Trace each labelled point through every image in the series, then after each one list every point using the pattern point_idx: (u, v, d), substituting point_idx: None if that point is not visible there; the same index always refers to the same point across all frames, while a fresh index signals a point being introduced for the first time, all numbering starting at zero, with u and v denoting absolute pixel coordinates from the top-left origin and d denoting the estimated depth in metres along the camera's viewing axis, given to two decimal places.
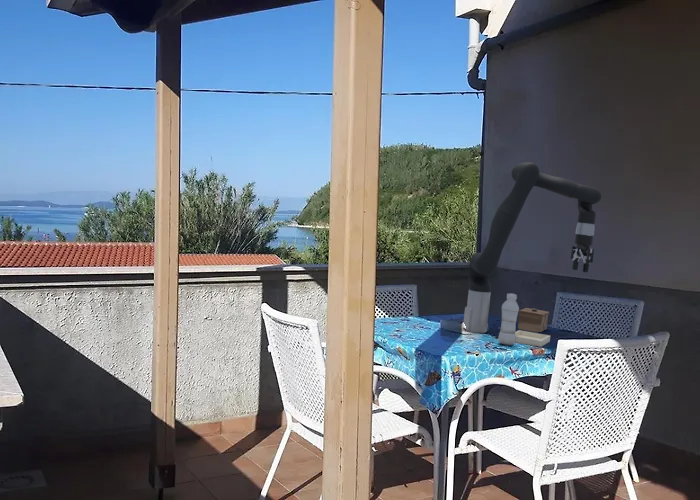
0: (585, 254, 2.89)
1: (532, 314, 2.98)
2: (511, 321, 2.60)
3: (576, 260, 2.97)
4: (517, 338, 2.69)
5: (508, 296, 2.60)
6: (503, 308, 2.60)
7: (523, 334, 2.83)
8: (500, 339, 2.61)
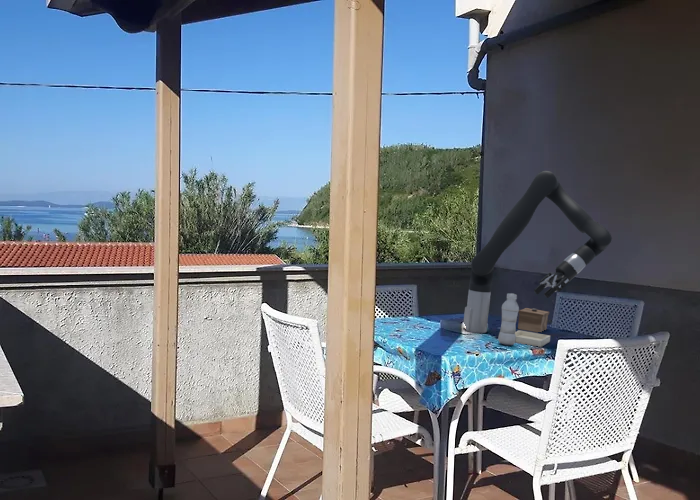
0: (557, 282, 2.61)
1: (532, 314, 2.98)
2: (511, 321, 2.60)
3: (543, 286, 2.68)
4: (517, 338, 2.69)
5: (508, 296, 2.60)
6: (503, 308, 2.60)
7: (523, 334, 2.83)
8: (500, 339, 2.61)
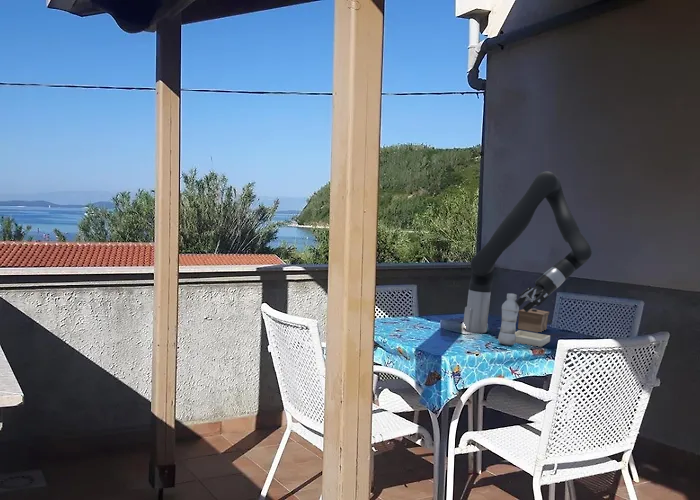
0: (537, 296, 2.60)
1: (532, 314, 2.98)
2: (511, 321, 2.60)
3: (523, 299, 2.67)
4: (517, 338, 2.69)
5: (508, 296, 2.60)
6: (503, 308, 2.60)
7: (523, 334, 2.83)
8: (500, 339, 2.61)
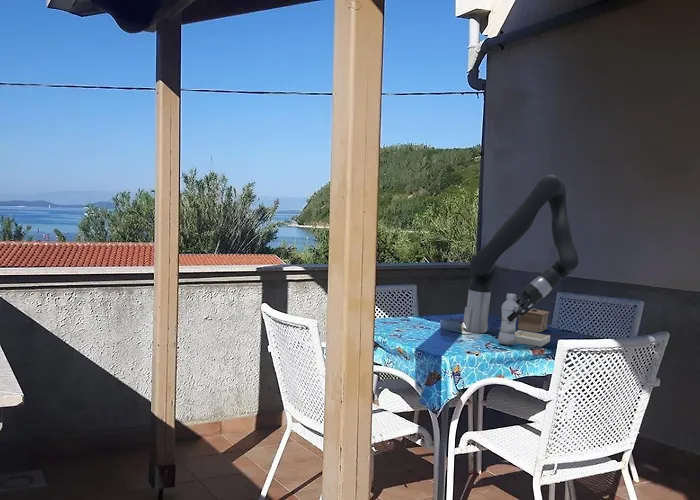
0: (522, 306, 2.60)
1: (532, 314, 2.98)
2: None
3: None
4: (517, 338, 2.69)
5: (508, 296, 2.60)
6: (503, 308, 2.60)
7: (523, 334, 2.83)
8: (500, 339, 2.61)
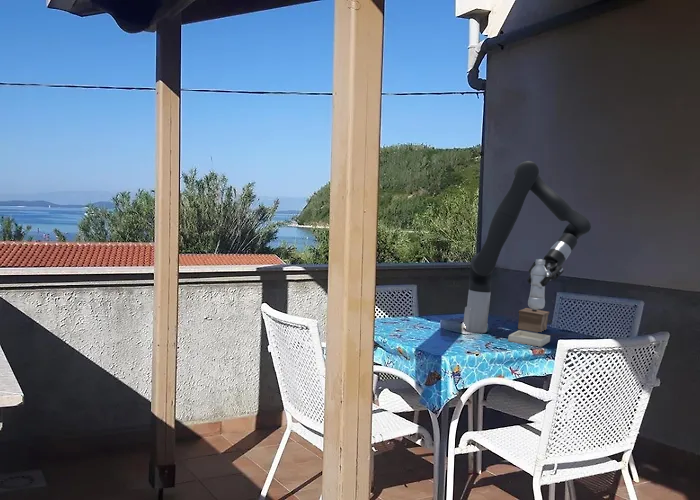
0: (551, 270, 2.69)
1: (532, 314, 2.98)
2: None
3: None
4: (517, 338, 2.69)
5: (539, 262, 2.67)
6: (535, 273, 2.67)
7: (523, 334, 2.83)
8: (532, 304, 2.67)
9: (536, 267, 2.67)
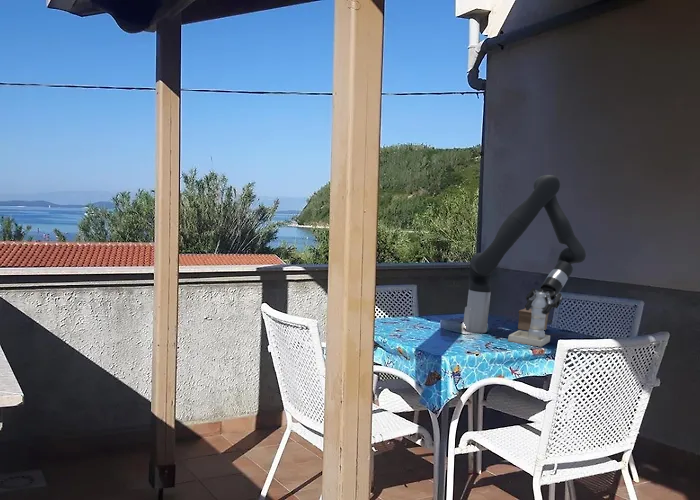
0: (550, 298, 2.73)
1: None
2: (543, 318, 2.70)
3: (531, 302, 2.77)
4: (517, 338, 2.69)
5: (540, 294, 2.70)
6: (536, 306, 2.70)
7: (523, 334, 2.83)
8: (533, 336, 2.71)
9: (537, 300, 2.70)
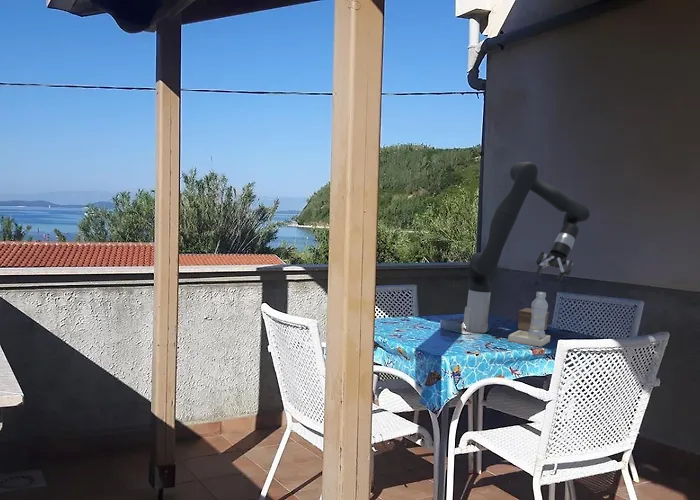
0: None
1: None
2: (543, 318, 2.70)
3: (542, 266, 2.86)
4: (517, 338, 2.69)
5: (540, 294, 2.70)
6: (536, 306, 2.70)
7: (523, 334, 2.83)
8: (533, 336, 2.71)
9: (537, 300, 2.70)
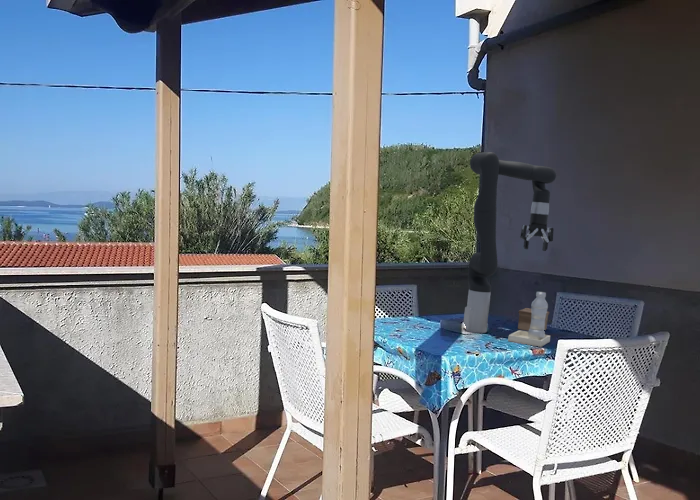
0: None
1: None
2: (543, 318, 2.71)
3: None
4: (517, 338, 2.69)
5: (540, 294, 2.70)
6: (536, 306, 2.70)
7: (523, 334, 2.83)
8: (533, 336, 2.71)
9: (537, 300, 2.71)
